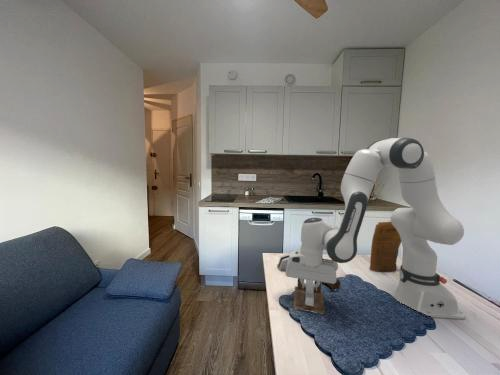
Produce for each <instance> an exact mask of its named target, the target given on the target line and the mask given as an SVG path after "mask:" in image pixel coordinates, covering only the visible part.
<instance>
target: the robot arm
mask: <svg viewBox="0 0 500 375" xmlns="http://www.w3.org/2000/svg"><path fill="white" fill-rule="evenodd" d="M384 168H386V169H397V173H398V180H399V186H400V192H401V198H402V200H403V201H404V202H405V203H406V204H407V205H409V206H410V207H398V208H396V209H395V210H393V211H392V213H391V216H390V222H391V223H392V225H393V226H394V227H395V229H396V230H397V232H398V234H399V236H400V238H401V245H402V259H401V260H402V262H401V265H400V268H399V269H400V270H399V274H398V275H399V276H398V277H399V282H398V286H397V288H396V290H395V293H394V296H393V297H394V298H395V300H396V301H397V302H398V301H399V302H400V303H399V302H398V303H399V304H401V303H402V304H405V305H407V306H409V307H411V308H412V309H414V310H417V311H419V312H422V313H424V314H426V315H428V316H431V317H430V318H441V319H455V320H465V319H466V313H465V312H464V311H463V309H462V308H461V307H460V306H459V305H458V300H457V297H456V296H455V295H454V294H453V292H452V291H451V290H449V289H448V288H447V287H446V286H444V285H445V284H447V283H448V280H447V279H446V278H445V277H443V276H441V275H440V274H438V273H437V265H438V255H437V253H436V251H435V250H434V249H433V248H432V247H431V246H430V244H429V243H428V241H429V242H433V243H436V244H440V245H447V246H453V245H456V244H458V243H459V242H461V240H462V239H463V237H464V234H465V228H464V225H463V224H462V222H461V221H460V220H458V219H457V218H455V217H454V216H453V215H452V214H451V213H450V212H449V211H448V209H447V208H446V206H444V204H443V203H442V201H441V199H440V196H439V193H438V188H437V181H436V175H435V174H436V173H435V169H434V164H433V162H432V159H431V157H430V155H429V153H428V152H427V151H424V147H423V145H422V143H421V142H420V141H418V140H417V139H415V138H411V137H391V138H387V139H380V140H376V141H373V142H372V143H370V144H369V145H368V146H367V147H366V148H364V149H362V148H361V149H359V150H357V151H355V153H354V155H353V156H352V158H351V159H350V161H349V163H348V165H347V167H346V169H345V172H344V174H343V177H342V179H341V183H340V193H341V195H342V198H343V201H344V212H343V215H342V218H341V221H340V223H339V224H340V225H339V227H338V226H336V225H332V224H330V223H328V222H326V221H325V220H324V219H323V218H320V217H310V218H307V219H305V220H303V222H302V225H301V232H300V233H301V234H300V241H301V245H300V247H299V248H300V249H297V250H296V249H295V250H292V251H290V252H289V254H290V255H289V259H288V262H287V266H286V270H285V273H284V274H285V276H286V277H287V278H293V279H297V280H298V279H300V282H301V284H302V289H306V282H305V281H306V280H312V281H313V282H315V281H317V283H316V285H314V284H313V290H314V291H317V287H318V286H319V285H320V282H321V283H324V282H325V283H324V284H326V283H332V284H335V283H336V281H337V279H338V278H337V271H338V268H339V264H345V263H349V262H351V261H352V260H353V259H355V257H356V255H357V252H358V236H359V233H360V229H361V226H362V223H363V220H364V217H365V213H366V211H367V207H368V204H369V199H370V196H371V193H372V190H373V188H374V185H375V183H376V180H377V178H378V176H379V173H380V171H382V169H384ZM323 251H326V253H327V255H328V256H327V257H329V259H328V258H324V257H323V254H324V253H323ZM303 279H304V282H303ZM443 284H444V285H443ZM402 304H401V305H402ZM412 309H411V310H412ZM414 310H413V311H414Z"/></svg>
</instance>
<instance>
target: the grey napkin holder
mask: <svg viewBox="0 0 500 375" xmlns="http://www.w3.org/2000/svg"><path fill="white" fill-rule="evenodd" d="M289 255H290V253H288V254H284V255H280V257H279V261H278V263H277V264H276V267H277V266H278V267H277V268H278V270H279V271H286V266H287V262H288V259H289Z"/></svg>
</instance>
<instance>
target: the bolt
mask: <svg viewBox="0 0 500 375" xmlns="http://www.w3.org/2000/svg"><path fill="white" fill-rule="evenodd" d="M323 283H324V284H325V285H328V286H329V287H330V289H333V290H335V289H338V288H339V289H340V287H341V281H340V280H339V278H337V281H336V283H335V284H332V283H325V282H323ZM339 289H338V290H339Z"/></svg>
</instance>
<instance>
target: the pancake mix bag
mask: <svg viewBox="0 0 500 375" xmlns="http://www.w3.org/2000/svg"><path fill="white" fill-rule="evenodd" d="M373 232H374V233H373V236H372V240H371V246H370V247H371V249H370V263H369V269H368V270H369V271H372V272H376V273H385V272H396V271H397V270H398V269H397V267H398V266H397V260H398V256H399V249H400V247H401V246H400V245H402V242H401V238H400V236H399V234H398V232H397V230H396V229H395V227H394V226H393V225H392V223H391V221H382V222H377V224H375V227H374V231H373Z"/></svg>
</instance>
